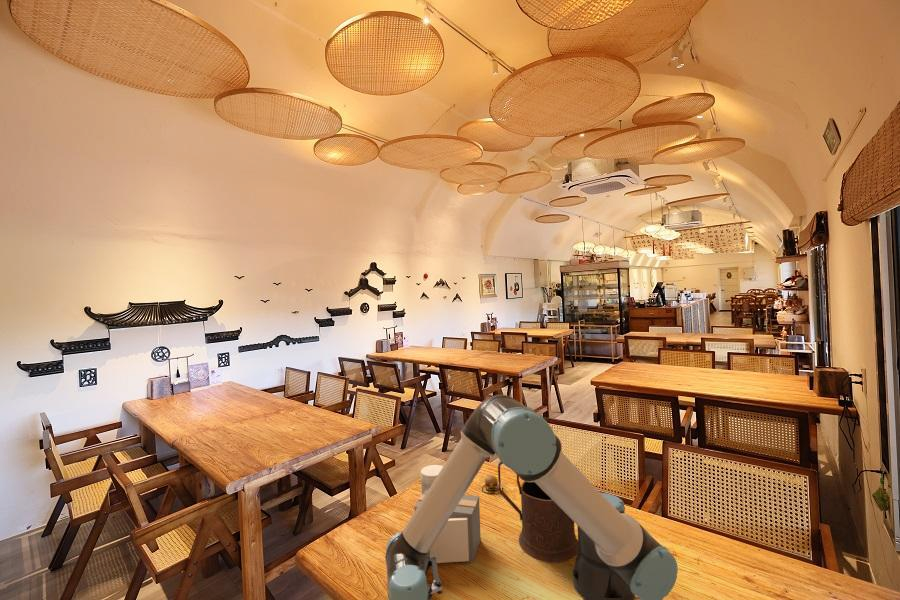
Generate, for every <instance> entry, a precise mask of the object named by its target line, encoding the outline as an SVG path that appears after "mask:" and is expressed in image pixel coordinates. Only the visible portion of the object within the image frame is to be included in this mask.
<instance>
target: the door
mask: <svg viewBox="0 0 900 600" xmlns="http://www.w3.org/2000/svg"><path fill="white" fill-rule="evenodd" d="M432 557H436V562H437V564H441V563H442V564H443V563H455V562H456V563H459V562H470V561H469V546H468V520H467V518H451V519H449V520H448V521H447V523H446V524H445V526H444V528H443V529H442V531H441V532H440V534H439V536H438V537H437V539H436V540H435V542H434V544H433V545H432V547H431V548H430V558H432ZM422 566H423V562H422V563H421V569H422Z"/></svg>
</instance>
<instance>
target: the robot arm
mask: <svg viewBox="0 0 900 600" xmlns="http://www.w3.org/2000/svg"><path fill="white" fill-rule="evenodd" d="M460 436H461V437H460V439H459V441H458V442H457V444H456V445H455V447H454V449H453V451H452V452H451V453H450V455H449V457H448V458H447V459H446V461H445V463H444V465H442V466H443V468H442V469H441V471H440V473H439V474H438V476H437V477H436V479H435V480H434V482H433V484H432V485H431V487H430V488H429V490H428V492H427V493H426V495H425V496H424V498H423V499H422V501H421V503H420V504H419V506H418V507H417V509H416V510H415V512H413V514H412V515H411V517H410V519H409V520H408V521H407V523H406V525H405V526H404V528H403V530H402V531H399V532H396V533H395V534H394V535H392V536H391V537H390V538H389V540H388V541H387V544H386V548H385V556H384V558H385V566H386V567H385V568H386V575H387V577H386V578H387V598H388V600H431V599H432V597H433V594H435V593H436V594H438V595H441V594H442V593H443V586H442V585H443V584H442V580H441V579H440V577H439V571H438V563H437V562H436V557H432V558H430V548H431V547H432V545H433V544H434V542H435V540H436V539H437V537H438V536H439V534H440V532H441V531H442V529H443V528H444V526H445V524H446V523H447V521H448V520H449V518H450V516H451V515H452V513H453V512H454V510H455V508H456V507H457V505H458V504H459V502H460V500H461V499H462V497H463V496H464V495H466V493H467V490H468V489H469V488H470V486H471V485H472V483H473V481H474V480H475V478H476V477H477V475H478V474H479V472H480V470H481V468H482V467H483V465H484V464H485V462H486V460H487V459H488V458H490V457H494V456H495V454H496V456H497V458H498V459H499V461H501V462H502V463H503V464H502V465H504V466H505V467H507V468H509V469H510V470H511V471H513V472H514V473H515V475H516V476H517V475H518V476H519V479H521V480H522V481H523V482H524V481H525V482H535V483H536V484H537V485H538V486H539V487H540V488H541V489H542V490H543V491H544V492H545V493H546V494H547V495H548V496H549V497H550V498H551V499H552V500H553V501H554V502H555V503H556V504H557V505H558V506H559V507H560V508H561V509H562V510H563V511H564V512H565V513H566V514H567V515H568V516H569V517H570V518H571V519H572V520H573V521H574V524H575V525H576V527H577V540H578V550H579V551H578V555H577V556H576V557H575V561H574V564H573V568H572V583H573V584H572V585H573V588H574V589H575V590H576V592H577V593H578V595H580V596H581V598H583V599H584V600H585V599H586V600H635V597H637V599H639V600H663V599H665V598H666V597H667V596H668V595H669V593H670V592H672V590H673V588H674V586H675V584H676V582H677V578H678V572H679V567H678V562H677V559H676V558H675V556H674V555H673V554H672V553H671V552H670V551H669V549H668V548H667V547H666V546H663V544H661V543H660V542H659V541H658V540H657V539H655V538H654V537H653V536H652V535H651V534H650V533H649V532H648V530H646V529H645V528H644V527H643V525H642V524H640V523H639V521H638V520H636V519H635V517H633V516H632V515H630V514H627V513H626V512H625V510H626V507H625V503H624V501H623V500H622V499H621V498H620V497H618V496H616V495H613V494H611V493H606V492H601V491H600V490H599V489H598V488H597V487H596V486H595V485H594V484H593V483H592V482H591V481H590V480H589V479H588V478H587V477H586V476H585V475H584V473H582V471H580V469H578V467H577V466H576V465H575V464H574V463H573V462H572V461H571V460H570V459H569V458H568V457H567V456H566V455H565V454H564V453H563V445H562V441H561V439H560V438H559V437H558V436H557V435H556V434H555V432H554V430H553V428H552V426H551V425H550V424H549V423H548V421H547V420H546V418H544V417H543V416H542V415H541V414H539V413H538V412H537V411H535V410H532V409H531V408H529V407H527V406H526V405H524V404H522V403H521V402H520V401H518V400H517V399H516V398H515V397H512V396H509V395H507V394H495V395H492V396H489V397H487V398H486V399H484V400H482V401H481V402H480V403H479V405H478V406H476V408H475V409H474V411H472V413H471V414H470V415H469V417H468V419H467V420H466V422H465V423H464V425H463V426H462V428H461V429H460ZM422 562H423V566H422V569H421V563H422ZM430 567H431V570H432V571H431V574H432V581H433V582H432V584H431V585H430V584H429V583H428V580H427V579H428V574H429V569H430Z"/></svg>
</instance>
